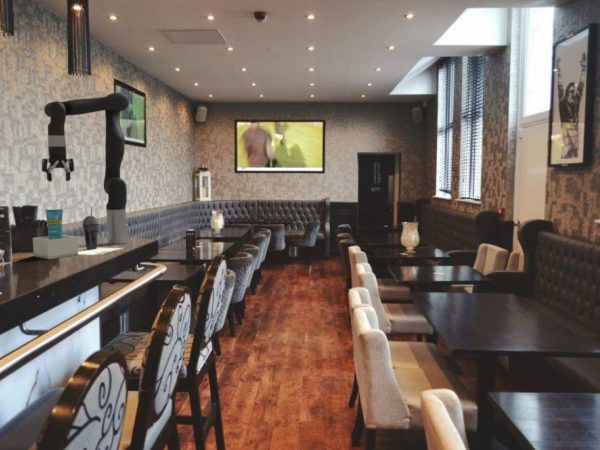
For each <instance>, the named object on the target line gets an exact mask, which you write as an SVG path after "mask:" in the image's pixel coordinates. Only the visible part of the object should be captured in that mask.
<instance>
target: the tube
mask: <svg viewBox="0 0 600 450" xmlns="http://www.w3.org/2000/svg"><path fill="white" fill-rule="evenodd" d="M63 211H64V210H63V209H62V208H61V209H60V208H59V209H58V208H57V209H46V208H45V217H46V223H47V224H46V225H47V234H48V236H49V240H51V239H61V238H62V235H63V214H64V213H63Z"/></svg>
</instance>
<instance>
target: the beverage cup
mask: <svg viewBox="0 0 600 450" xmlns="http://www.w3.org/2000/svg"><path fill="white" fill-rule="evenodd" d="M82 220H83V221H82V229H83V233H84V240H85V247H86V250H97V248H98V232H99V231H98V229H99V221H98V219H97V218H96V217H95V216H93V206H90V215H88V216H86V217H84V219H82Z"/></svg>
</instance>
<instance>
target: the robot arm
mask: <svg viewBox="0 0 600 450" xmlns="http://www.w3.org/2000/svg"><path fill="white" fill-rule="evenodd" d="M129 104H130V100H129V97H128V96H127V95H126V94H125V93H123V92H114V93H108V94H107V95H106V96H101V97H93V98H92V97H90V98H78V99H77V98H76V99H70V100H66V101H52V102H48V103H47V104H45V106H44V109H43V110H44V114H45V115H46V116H47V117H48V118H50V122H49V123H48V125H47V148H48V149H47V151H48V158H42V159H41V172H44V173H46V180H47V181H48V182H53V173H52V172H53V170H55V169H62V170H64V172H65V181H66V182H70V180H71V179H72V178H71V173H72V172H75V165H74V159H73V158H67V142H66V137H65V133H66V132H65V124H66V119H67V117H68V116H79V115H86V114H92V113H95V112H101V111H104V113H105V139H104V141H105V145H104V147H105V150H104V151H105V152H104V153H105V157H104V158H105V160H104V161H105V171H104V179H103V190H104V191H105V193H106V194H107V195H108V196H107V198H108V199H107V202H106V204H105V206H106V231H107V233H106V234H107V244H108V245H121V244H127V243H129V239H130V237H129V225H128V223H127V211H126V210H127V209H126V207H127V202H128V201H127V200H128V196H127V195H128V193H127V192H128V191H127V190H128V189H127V184H126V181H125V180H124V179H123V178H121V166H122V162H123V159H124V155H125V146H126V143H125V142H126V141H125V135H124V131H123V129H122V126H121V119H120V118H121V112H123V111H126V110H127V109H128V107H129ZM66 116H67V117H66ZM48 164H49V165H48ZM67 164H68V165H67Z"/></svg>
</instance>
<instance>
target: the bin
mask: <svg viewBox="0 0 600 450" xmlns="http://www.w3.org/2000/svg"><path fill="white" fill-rule="evenodd" d="M78 248H79V247H78V236H71V235H64V234H62V238H61V239H51V240H49V235H48V236H40V237H39V236H38V237H32V250H33V257H34V258H35V257H36V258H40V259H45V260H46V259H47V260H52V259H60V258H68V257H67V256H69V257H73V256H75V255H76V256H79V250H78ZM76 256H75V257H76Z"/></svg>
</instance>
